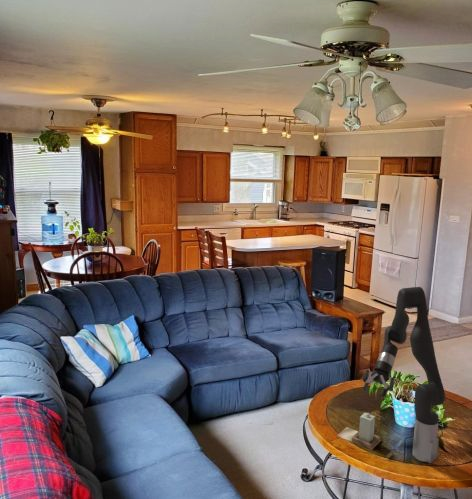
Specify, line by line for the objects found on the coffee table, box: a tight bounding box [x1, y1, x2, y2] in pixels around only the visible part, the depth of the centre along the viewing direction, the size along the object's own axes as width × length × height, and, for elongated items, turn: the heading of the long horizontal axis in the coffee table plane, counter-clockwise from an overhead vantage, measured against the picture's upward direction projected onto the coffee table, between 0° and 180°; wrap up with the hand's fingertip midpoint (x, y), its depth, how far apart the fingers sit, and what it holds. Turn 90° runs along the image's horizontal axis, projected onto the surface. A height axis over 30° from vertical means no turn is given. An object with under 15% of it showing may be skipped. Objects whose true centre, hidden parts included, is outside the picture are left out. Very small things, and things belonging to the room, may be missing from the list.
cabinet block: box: [358, 412, 376, 443], centre depth 206 cm, size 5×5×13 cm
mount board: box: [337, 426, 381, 451], centre depth 209 cm, size 17×10×3 cm, turn 50°
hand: (373, 394), depth 213 cm, fingers open, 8 cm apart
